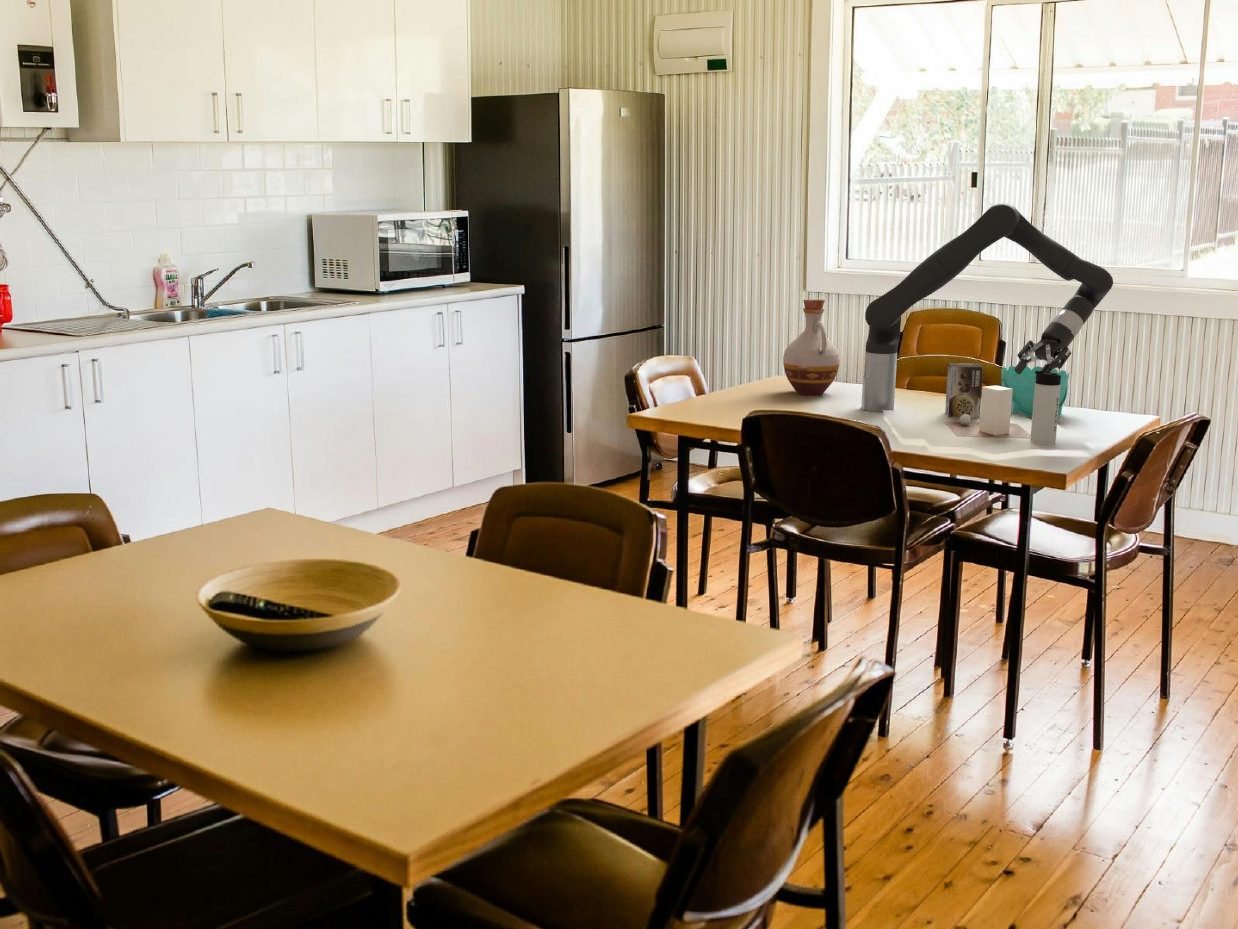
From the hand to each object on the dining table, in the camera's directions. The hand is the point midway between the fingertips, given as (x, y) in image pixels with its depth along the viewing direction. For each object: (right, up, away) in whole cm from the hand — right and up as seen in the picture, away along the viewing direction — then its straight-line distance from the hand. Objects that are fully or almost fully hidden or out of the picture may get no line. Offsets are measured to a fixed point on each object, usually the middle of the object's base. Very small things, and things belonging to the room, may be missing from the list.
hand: (1028, 374), depth 350 cm
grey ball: (-15, -13, +7) cm, 21 cm away
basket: (+12, -9, +34) cm, 37 cm away
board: (-11, -16, +1) cm, 19 cm away
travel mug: (-1, -20, -13) cm, 24 cm away
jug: (-49, -2, +62) cm, 80 cm away
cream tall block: (-10, -15, -2) cm, 18 cm away
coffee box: (-12, -12, +22) cm, 28 cm away
